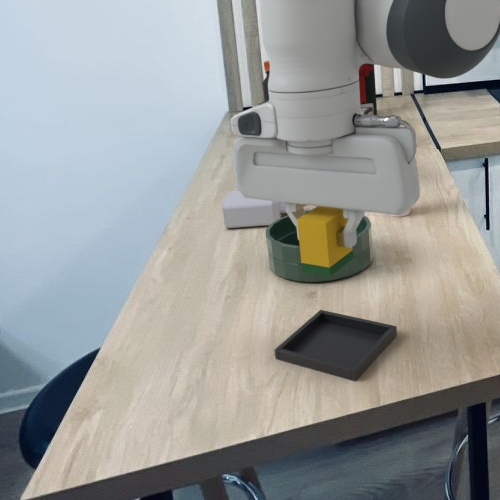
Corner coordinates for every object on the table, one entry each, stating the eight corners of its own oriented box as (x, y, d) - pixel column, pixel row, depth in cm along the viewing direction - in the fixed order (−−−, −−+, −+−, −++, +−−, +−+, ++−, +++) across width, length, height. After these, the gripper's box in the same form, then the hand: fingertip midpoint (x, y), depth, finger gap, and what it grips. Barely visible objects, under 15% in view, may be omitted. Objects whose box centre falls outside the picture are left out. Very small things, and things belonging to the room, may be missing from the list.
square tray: (397, 338, 76) (396, 326, 75) (355, 385, 69) (354, 371, 68) (321, 321, 82) (320, 309, 81) (275, 362, 75) (274, 349, 74)
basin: (390, 251, 99) (388, 214, 97) (340, 294, 88) (337, 253, 86) (304, 239, 108) (301, 204, 105) (250, 276, 97) (245, 239, 95)
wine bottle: (349, 122, 182) (341, 8, 171) (348, 114, 192) (341, 6, 180) (378, 119, 181) (372, 4, 170) (376, 111, 190) (370, 2, 179)
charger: (310, 224, 114) (225, 230, 116) (312, 206, 122) (233, 212, 125) (307, 198, 112) (221, 205, 114) (310, 182, 120) (230, 188, 123)
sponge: (353, 258, 72) (350, 206, 70) (330, 276, 68) (325, 222, 66) (325, 254, 74) (321, 203, 72) (302, 271, 70) (296, 219, 68)
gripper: (429, 107, 61) (431, 244, 66) (252, 106, 73) (267, 221, 78) (400, 123, 57) (405, 269, 62) (217, 119, 69) (235, 241, 74)
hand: (326, 242), depth 70 cm, fingers closed on sponge, 3 cm apart
